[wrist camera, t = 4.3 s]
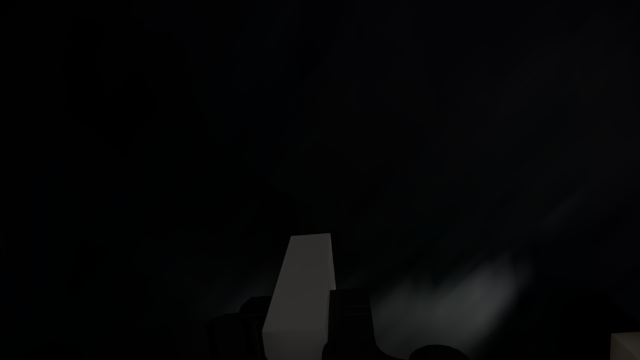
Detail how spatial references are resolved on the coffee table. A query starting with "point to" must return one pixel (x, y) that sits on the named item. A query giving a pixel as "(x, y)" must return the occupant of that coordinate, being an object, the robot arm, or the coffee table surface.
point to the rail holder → (625, 346)
